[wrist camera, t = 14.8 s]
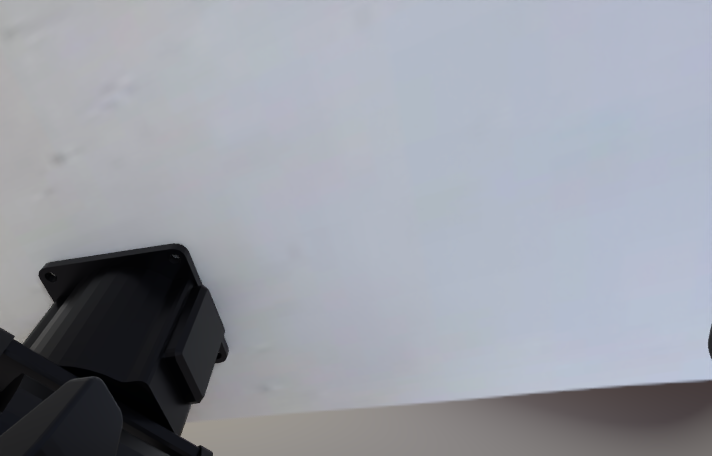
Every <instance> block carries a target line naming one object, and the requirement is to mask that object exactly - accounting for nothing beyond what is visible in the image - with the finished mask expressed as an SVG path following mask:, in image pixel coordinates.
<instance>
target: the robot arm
mask: <svg viewBox="0 0 712 456" xmlns="http://www.w3.org/2000/svg"><path fill="white" fill-rule="evenodd" d="M172 254H177V255H179V257H180V259H179V258H175V257H173V256H172ZM51 273H53V274H55V275H56V276H54V275H52V274H51ZM39 278H40V280H41V281H42V283H43V285H44V286H45V288H46V290H47V291H48V293H49V295H50V296H51V298H52V300H53V301H54V304H53V305H52V306H51V308H50V309H49V310H48V312H47V313H46V314H45V316H44V317H43V318H42V319H41V321H40V322H39V323H38V325H37V326H36V327H35V329H34V330H33V331H32V333H31V334H30V335H29V336H28V338H27V339H26V340H25V342H24V343H23V344H21V343H19V342H18V341H16V340H14V339H13V338H14V337H15V336H14V335H12V334H10V333H8V332H7V331H5V330H3V329H2V328H0V456H213V453H212V452H211V451H210V450H208V449H206V448H205V447H203V446H201V445H200V446H196V445H194V444H192V443H191V442H189V441H187V440H186V439H184V438H182V437H180V436H181V433H182V430H183V427H184V425H185V422H186V419H187V416H188V413H189V410H190V407H191V404H196V403H200V402H201V400H202V399H203V398H204V395H205V392H206V389H207V386H208V383H209V380H210V377H211V373H212V370H213V367H214V364H215V363H221V362H224V361H225V360H226V358H227V355H228V352H229V348H228V346H227V343H226V341H225V338H224V333H225V329H224V326H223V324H222V321H221V319H220V316H219V314H218V312H217V309H216V307H215V304H214V302H213V299H212V297H211V294H210V292H209V290H208V289H207V288H206V287H205V286H204V285H202V282H201V280H200V278H199V275H198V273H197V270H196V268H195V265H194V263H193V261H192V258H191V256H190V253H189V251H188V250H187V248H186V247H184V246H183V245H180V244H167V245H161V246H154V247H148V248H141V249H134V250H128V251H121V252H115V253H108V254H101V255H95V256H88V257H82V258H75V259H68V260H62V261H55V262H49V263H47V264H46V265H45V266H44V267H43V268H42V269H41V270H40V271H39ZM708 349H709V353H710V356H711V359H712V325H711V329H710V334H709V339H708ZM218 352H220V353H218Z"/></svg>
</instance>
